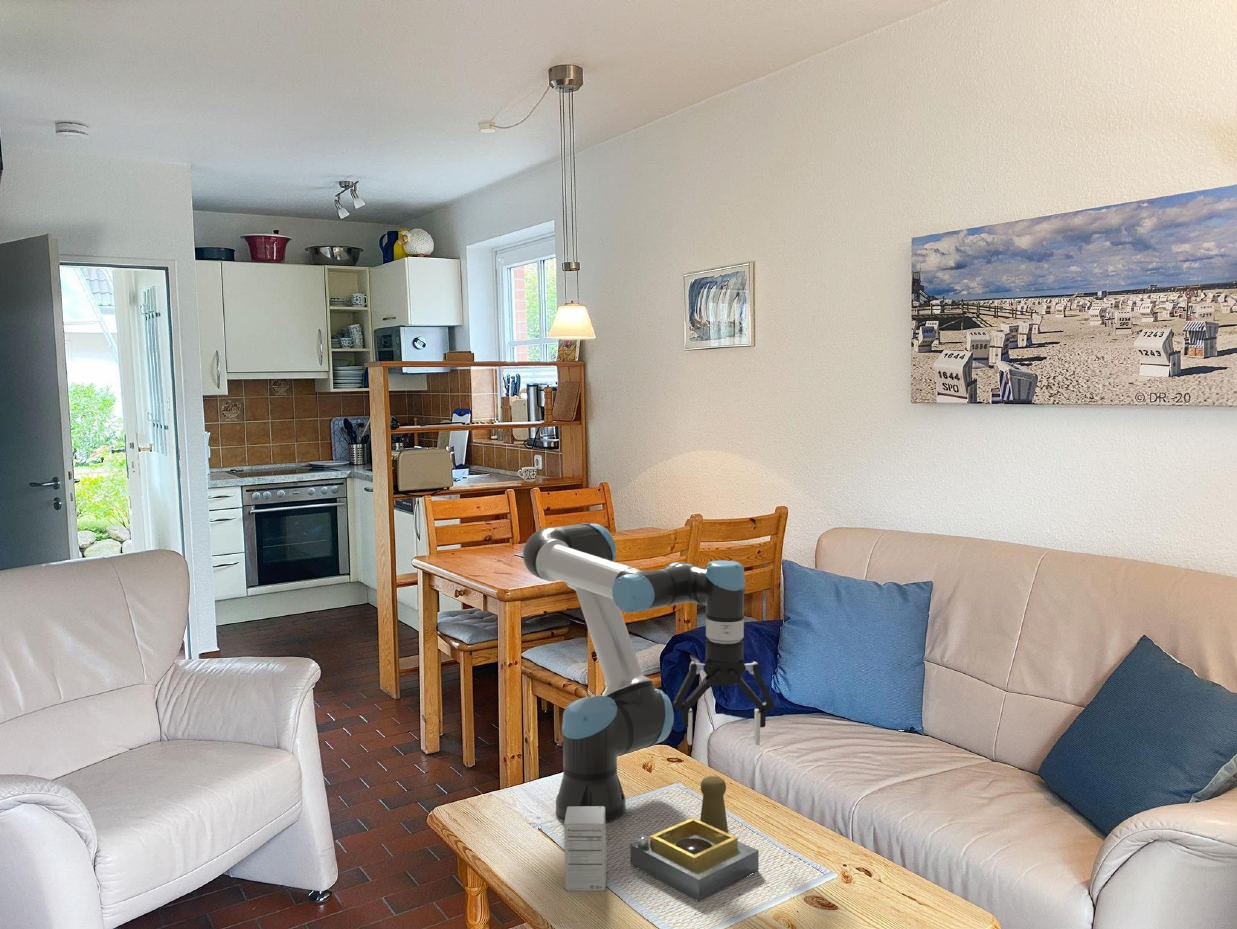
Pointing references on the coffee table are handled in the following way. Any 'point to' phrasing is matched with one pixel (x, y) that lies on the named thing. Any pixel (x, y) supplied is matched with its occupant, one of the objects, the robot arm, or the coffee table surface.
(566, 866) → the supplement box
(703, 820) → the olive brown pawn
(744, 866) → the grey base with frame
